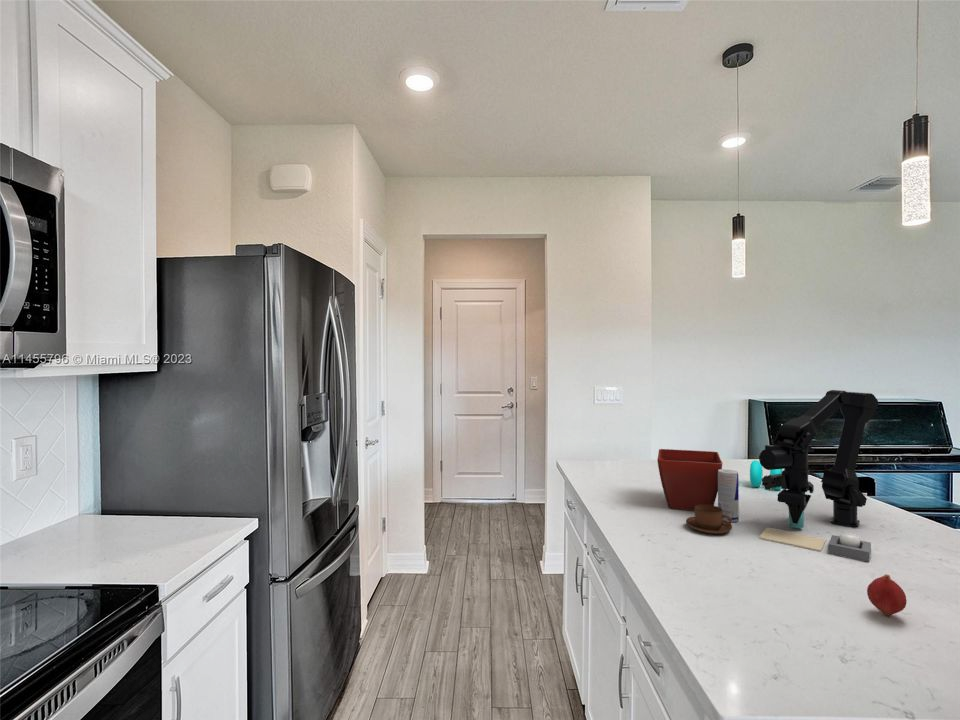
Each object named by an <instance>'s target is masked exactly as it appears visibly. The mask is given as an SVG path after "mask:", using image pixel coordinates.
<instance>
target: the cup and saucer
mask: <svg viewBox="0 0 960 720" xmlns="http://www.w3.org/2000/svg"><path fill="white" fill-rule="evenodd" d="M723 517H726V518H728V519H729V522H727V521H724V520H723ZM685 521H686V522H685V523H686V524H687V526H688V527H689V528H691V529H693V530H695V531H697V532H701V533H705V534H711V535H712V534H713V535H717V534H718V535H719V534H720V535H721V534H726V533H729V532H730V531H731V530H732V529H733V528H732V527H733V525H732V523H733V522H732V520H731V518H730V517H729V516H727V515H723V510H722V509H721V508H719V507H718V506H716V505H714V506H712V505H696V506H695V511H694V516H690V517H688V518H686V520H685Z"/></svg>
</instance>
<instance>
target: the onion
mask: <svg viewBox="0 0 960 720" xmlns="http://www.w3.org/2000/svg"><path fill="white" fill-rule="evenodd" d="M866 588H867V589H866V593H867V597H868V598H867V599H868V600H869V601H870V603H871V604H872V605H873V607H874V608H875V609H877V610H878V611H879V612H881V613H882V614H883V615H884V616H885V617H891V616H893V615H895V614H897V613H900V612H902V611H904V609H906V606H907V596H906V593H905V591H904V589H902V587H901V586H900V585H899V584H898V583H897V582H896V581H894V580H893V579H892V578H891V575H890V574H888V573H887V574H886V573H885V574H884V575H882V576H880V577H878V578H875V579H873V580H872V581H871V582H870V583H869V584H868V586H867V587H866Z"/></svg>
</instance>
